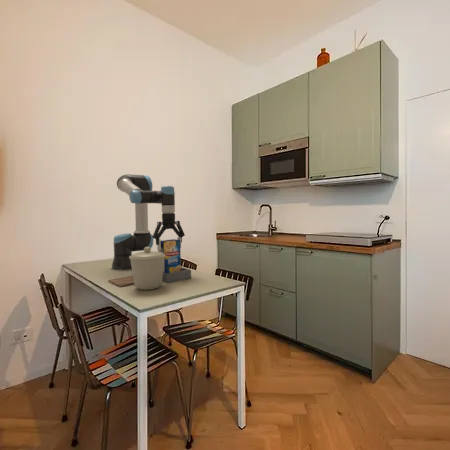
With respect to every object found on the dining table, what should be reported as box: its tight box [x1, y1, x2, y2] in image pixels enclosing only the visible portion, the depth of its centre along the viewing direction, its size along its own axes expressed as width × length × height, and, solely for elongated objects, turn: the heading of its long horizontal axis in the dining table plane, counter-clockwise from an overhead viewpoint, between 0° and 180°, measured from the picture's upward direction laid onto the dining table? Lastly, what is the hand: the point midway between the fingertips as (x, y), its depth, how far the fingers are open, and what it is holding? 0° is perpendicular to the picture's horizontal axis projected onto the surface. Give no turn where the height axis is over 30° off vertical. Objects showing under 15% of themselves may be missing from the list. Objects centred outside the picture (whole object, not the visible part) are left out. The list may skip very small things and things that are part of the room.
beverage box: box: [157, 239, 182, 273], centre depth 170 cm, size 7×11×22 cm, turn 132°
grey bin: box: [162, 266, 192, 284], centre depth 171 cm, size 20×16×5 cm
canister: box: [129, 247, 166, 291], centre depth 149 cm, size 18×18×21 cm
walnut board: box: [107, 275, 135, 288], centre depth 161 cm, size 16×14×1 cm
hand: (169, 249), depth 170 cm, fingers open, 13 cm apart
